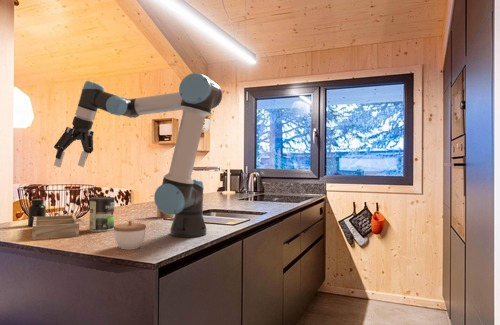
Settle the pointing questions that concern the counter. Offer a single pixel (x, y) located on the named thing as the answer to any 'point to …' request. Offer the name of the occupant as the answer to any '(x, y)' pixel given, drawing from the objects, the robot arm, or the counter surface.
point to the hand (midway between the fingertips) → (69, 166)
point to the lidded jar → (129, 235)
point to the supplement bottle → (36, 210)
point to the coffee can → (101, 214)
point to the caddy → (55, 227)
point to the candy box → (163, 214)
